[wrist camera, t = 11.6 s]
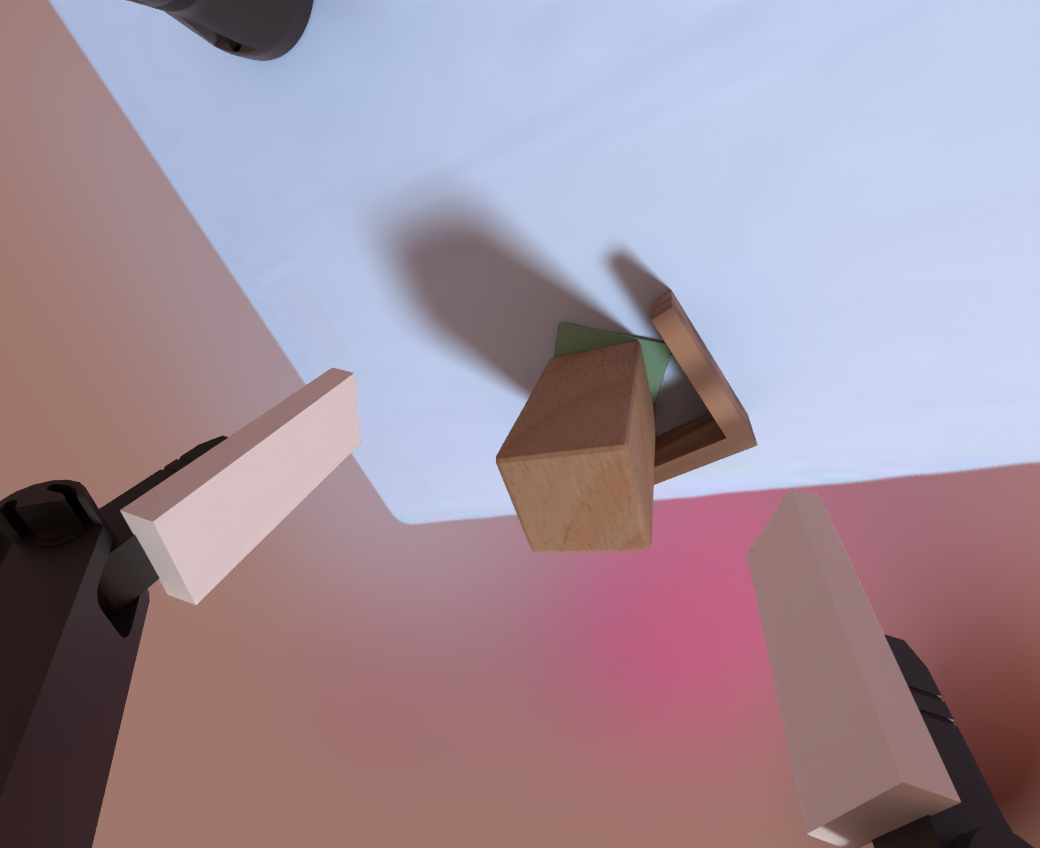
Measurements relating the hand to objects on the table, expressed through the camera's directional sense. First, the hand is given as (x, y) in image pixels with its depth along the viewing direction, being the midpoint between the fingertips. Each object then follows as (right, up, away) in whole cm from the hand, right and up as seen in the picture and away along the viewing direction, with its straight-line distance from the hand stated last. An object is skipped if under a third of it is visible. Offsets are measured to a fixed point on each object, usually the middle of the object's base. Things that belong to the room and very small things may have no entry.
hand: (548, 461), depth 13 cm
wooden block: (+9, +5, +36) cm, 37 cm away
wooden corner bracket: (+11, +4, +36) cm, 38 cm away
